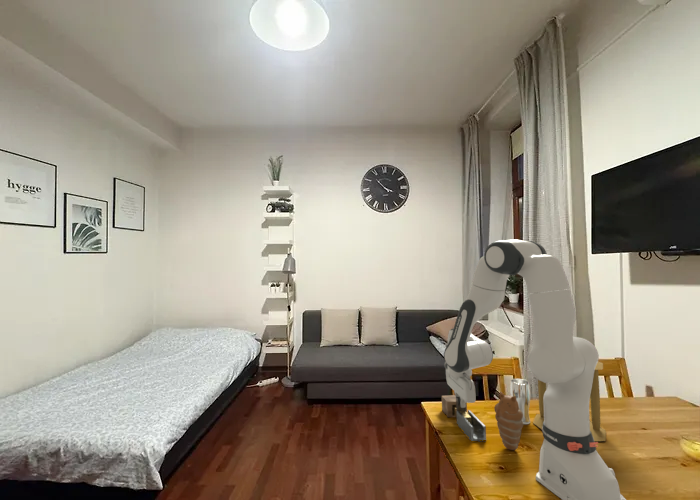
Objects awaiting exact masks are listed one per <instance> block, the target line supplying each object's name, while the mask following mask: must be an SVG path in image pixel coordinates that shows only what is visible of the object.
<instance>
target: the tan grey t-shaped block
mask: <svg viewBox="0 0 700 500" xmlns="http://www.w3.org/2000/svg"><path fill="white" fill-rule="evenodd" d="M460 401H461V399H460V397H456V405H452V413H453V414H454V415H455V416H456V417H455V418H457V411H459V412H460V413H461V414H462V415H463V416H464V417H465V418H466V419H467V421H468V422H469V423H470V424H471V425H472V418H471V416H470V415H469V414H468V411H467V412H466V407H465V408H461V407H460V403H459V402H460ZM465 404H466V403H465Z"/></svg>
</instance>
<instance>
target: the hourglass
mask: <svg viewBox="0 0 700 500" xmlns="http://www.w3.org/2000/svg"><path fill="white" fill-rule="evenodd" d="M603 369H604V363H603V362H602V361H599V360H598V362H597V364H596V367H595V370H594V376H593V383H592V388H591V394H590V413H591V414H590V415H591V420H590V431H591V433H592V436H593V438H594V442H606V439H607V436H606V435H607V434H606V429H605V428H603V427H602V426H601V396H600V394H601V393H600V380H599V379H600V378H599V371H600V370H603ZM546 389H547V383H544V382H542V381H540V380H538V379H537V390H538V391H537V392H538V411H539V413H536V415H535V416H534V419H533V421H532V423H533V424H534V425H535V426H537V428H539V429H540V430H541V431H542V426H543V422H544V403H543V397H544V393H545V391H546Z"/></svg>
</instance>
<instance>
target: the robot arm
mask: <svg viewBox="0 0 700 500" xmlns="http://www.w3.org/2000/svg"><path fill="white" fill-rule="evenodd" d="M565 271H566V270H565V269H564V267H563V265H562V263H561V260H560V259H559V258H557V256H554V255H552V254H551V255H550V254H547V251H546V249H545V248H544V246H543V245H541V244H540V243H538V242H535V241H532V240H521V239H506V240H504V239H501V240H500V239H499V240H496V241H494V242H492V243H490V244H489V245H488V246H486V247H485V251H484V255H482V257H480V258H479V260H478V261H477V265H476V267H475V269H474V273H473V278H472V283H471V286H470V290H469V292H468V294H467V297H466V298H465V300H464V302H462V304H461V306H460V307H459V310H458V313H457V316H456V320H455V324H454V325H453V326H454V327H453V328H451V329H449V331H448V334H447V345H446V347H445V349H444V353H443V358H444V368H445V379H446V383H447V386H449V387H450V389H452V391H454V395H455V397H460V399H461V401H460V402H459V403H460V407H461V408H465V407H466V404H465V403H467V404H470V403H475V402H476V400H477V399H476V396H477V395H476V386H475V382H474V381H473V379H471V378H472V377H471V376H472V375H473V369H478V368H481V367H486V366H489V365H491V363H492V361H493V357H494V353H493V349H492V347H491V345H490V343H488V342H487V341H486V340H484V339H481V338H479V337H478V336H476V335H475V334H473V333H472V330H473V329H474V326H475V324H476V323H477V322H478V321H479V320H480V319H481V318H483V317H484V316H486V315H488V314H490V313H492V312H494V311H496V310H497V309H498V308H500V306H501V305H502V302H503V300H504V298H505V294H506V288H507V282H508V278H509V277H510V276H517V275H519V276H520V277H522V278H523V280H524V282H525V284H526V289H527V294H528V298H529V299H528V300H529V305H530V310H531V314H532V323H533V324H532V325H533V327H532V329H533V330H532V340H531V341H532V342H531V349H530V350H529V353H528V355H527V360H526V363H527V368H528V369H529V372H530V374H532V375H533V377H535V379H537V381H538V380H540V381H542V382H544V383H546V384H548V385H547V386H546V391H545V393H544V397H543V403H544V422H543V426H542V430H541V431H542V436H543V438H544V439H543V442H542V444H541V447H540V451H539V464H538V465H539V466H538V472H536V475H535V480H536V481H537V482H539V483H540V484H541V485H542V486H544V487H545V488H546V489H547V490H549V491H551V492H552V493H553V494H554V495H556V496H557V497H558V498H560V499H561V500H627V499H626V498H625V497H624V496H623V494H621V491H620V490H621V489H620V485H619V482H618V480H617V478H616V473H615V471H614V469H613V468H612V467H611V468H610V467H608V465H607V463H605V461H604V459H603V458H602V457H601V455H600V454H599V453H598V451H597V448H598V447H599V445H598V444H599V441H594V438H593V436H592V433H591V431H590V421H591V420H590V402H591V399H590V394H591V388H592V383H593V376H594V370H595V367H596V364H597V362H598V361H599V359H600V358H599V351H598V350H597V349H598V348H596V346H595V345H594V344H593V343H592V342H591V341H589V340H588V339H586V338H584V337H579V336H574V330H575V329H574V327H575V326H574V325H575V321H576V320H577V313H576V308H575V304H574V300H573V295H572V291H571V287H570V284H569V280H568V277H567V274H566V272H565Z"/></svg>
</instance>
